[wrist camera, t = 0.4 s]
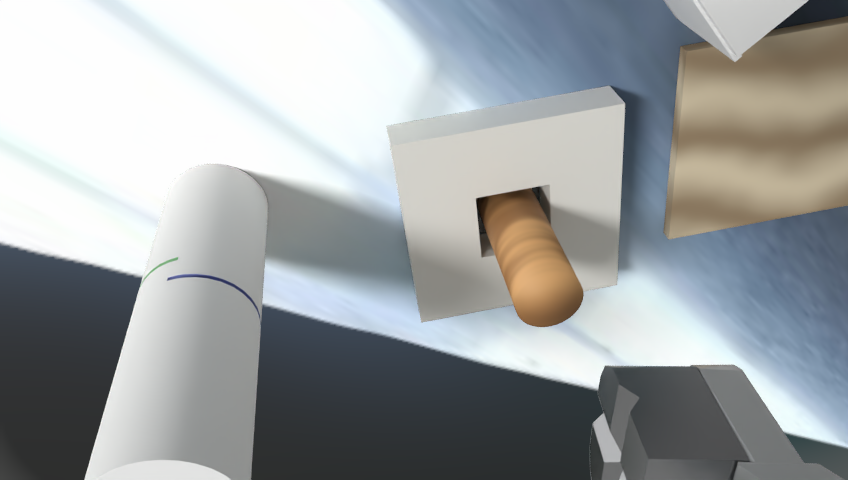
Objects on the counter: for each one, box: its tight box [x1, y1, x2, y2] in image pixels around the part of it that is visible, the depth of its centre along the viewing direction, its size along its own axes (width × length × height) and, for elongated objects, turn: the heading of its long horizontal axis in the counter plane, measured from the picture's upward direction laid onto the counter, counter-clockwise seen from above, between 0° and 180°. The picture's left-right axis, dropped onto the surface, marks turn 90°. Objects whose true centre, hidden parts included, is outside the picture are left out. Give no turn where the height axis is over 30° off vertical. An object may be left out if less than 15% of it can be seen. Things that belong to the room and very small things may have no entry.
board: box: [664, 16, 848, 239], centre depth 54 cm, size 16×16×1 cm
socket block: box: [386, 86, 625, 322], centre depth 53 cm, size 16×16×3 cm
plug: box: [477, 188, 583, 327], centre depth 50 cm, size 4×4×12 cm
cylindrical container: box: [85, 164, 268, 480], centre depth 41 cm, size 7×7×25 cm
